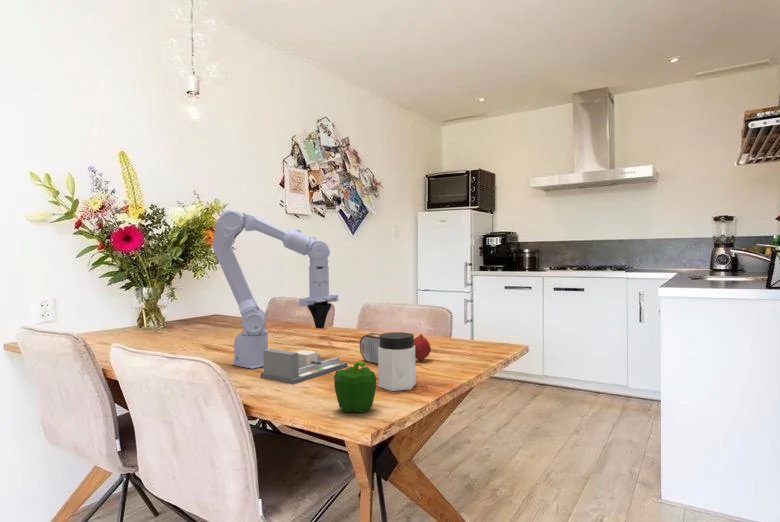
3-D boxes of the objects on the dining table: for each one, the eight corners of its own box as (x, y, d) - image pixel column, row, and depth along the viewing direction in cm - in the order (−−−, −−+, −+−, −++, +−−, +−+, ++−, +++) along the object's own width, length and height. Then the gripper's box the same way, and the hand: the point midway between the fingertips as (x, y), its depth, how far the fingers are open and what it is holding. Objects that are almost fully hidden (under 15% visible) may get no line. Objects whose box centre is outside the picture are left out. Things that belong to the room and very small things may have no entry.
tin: (403, 367, 126) (402, 336, 126) (395, 369, 124) (394, 338, 124) (365, 359, 137) (365, 330, 136) (357, 361, 134) (357, 332, 134)
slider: (291, 367, 123) (291, 352, 123) (303, 364, 126) (303, 349, 126) (315, 372, 118) (314, 356, 118) (326, 368, 121) (326, 353, 121)
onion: (407, 362, 131) (407, 334, 131) (414, 358, 137) (414, 331, 137) (427, 364, 129) (427, 335, 129) (433, 359, 135) (432, 332, 134)
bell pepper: (330, 406, 95) (329, 357, 95) (368, 400, 98) (367, 353, 98) (341, 419, 87) (340, 366, 87) (382, 413, 90) (381, 362, 90)
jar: (382, 392, 104) (381, 339, 103) (375, 382, 112) (374, 333, 111) (420, 389, 106) (419, 337, 105) (411, 379, 114) (410, 331, 113)
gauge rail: (260, 377, 118) (260, 349, 118) (315, 361, 135) (315, 337, 135) (293, 384, 111) (293, 355, 111) (347, 366, 128) (346, 341, 128)
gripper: (311, 283, 128) (312, 333, 128) (345, 280, 140) (346, 325, 140) (293, 283, 132) (294, 330, 132) (328, 280, 144) (328, 323, 144)
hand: (319, 328), depth 136 cm, fingers closed
